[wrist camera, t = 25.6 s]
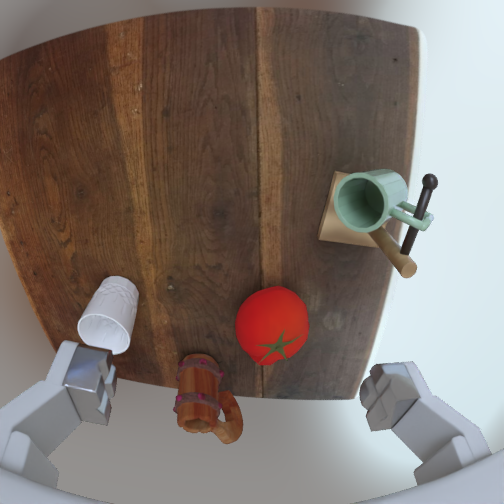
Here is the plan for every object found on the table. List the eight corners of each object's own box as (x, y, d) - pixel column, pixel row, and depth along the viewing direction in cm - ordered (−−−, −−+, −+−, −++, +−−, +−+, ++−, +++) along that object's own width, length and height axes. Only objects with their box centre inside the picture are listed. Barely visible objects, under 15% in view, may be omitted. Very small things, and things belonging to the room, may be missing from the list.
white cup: (138, 271, 47) (122, 314, 38) (146, 311, 50) (135, 356, 42) (92, 272, 46) (70, 312, 37) (103, 310, 50) (86, 353, 41)
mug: (167, 359, 57) (158, 427, 44) (195, 339, 54) (191, 411, 41) (222, 391, 63) (224, 453, 50) (250, 375, 61) (257, 440, 48)
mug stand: (375, 244, 48) (424, 308, 34) (316, 236, 46) (353, 306, 32) (404, 152, 40) (475, 191, 26) (343, 135, 39) (403, 168, 25)
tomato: (223, 325, 53) (224, 372, 44) (248, 265, 48) (254, 310, 39) (284, 337, 56) (293, 382, 47) (315, 282, 50) (332, 326, 41)
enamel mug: (357, 205, 40) (327, 218, 33) (370, 161, 37) (341, 164, 30) (427, 238, 35) (412, 260, 28) (444, 192, 32) (434, 203, 25)
